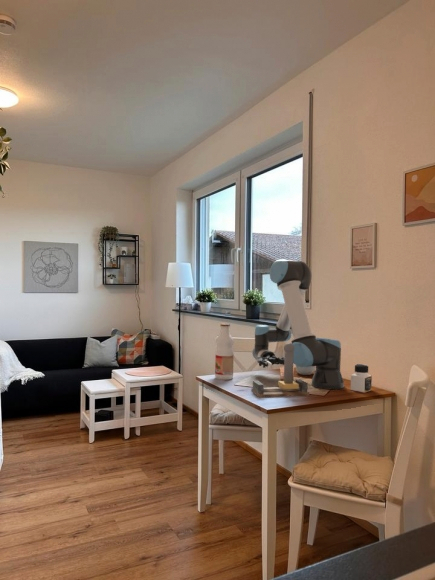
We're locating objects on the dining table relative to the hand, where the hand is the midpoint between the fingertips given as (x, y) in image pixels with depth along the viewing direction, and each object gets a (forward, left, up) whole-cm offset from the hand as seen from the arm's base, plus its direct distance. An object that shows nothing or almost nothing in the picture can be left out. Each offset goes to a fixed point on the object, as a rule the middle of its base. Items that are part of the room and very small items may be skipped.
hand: (281, 366), depth 200 cm
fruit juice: (+21, -27, -11) cm, 36 cm away
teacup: (-27, -33, -11) cm, 44 cm away
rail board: (+4, +7, -11) cm, 13 cm away
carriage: (0, +7, -8) cm, 11 cm away
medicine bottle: (-37, +7, -11) cm, 39 cm away
